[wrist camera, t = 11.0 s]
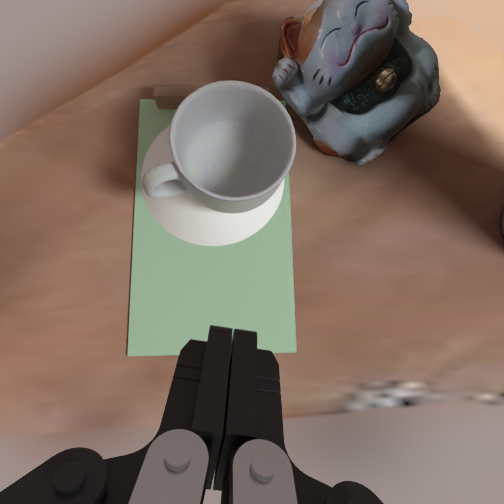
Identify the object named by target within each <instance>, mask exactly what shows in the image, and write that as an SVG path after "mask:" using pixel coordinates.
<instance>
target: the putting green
mask: <svg viewBox="0 0 504 504" xmlns="http://www.w3.org/2000/svg"><path fill="white" fill-rule="evenodd" d="M200 87H203V86H167V85H154V90H153V96H154V99H140V108H139V128H138V149H137V169H136V190H135V211H134V231H133V252H132V272H131V293H130V313H129V334H128V355H127V356H157V355H179V354H180V350H181V349H182V348H183V347H184V346H185V345H186V344H187V343H188V341H189V340H190V339H193V340H200V341H207V340H208V334H209V329H210V325H215V326H221V327H228V328H233V331H232V337H233V332H234V328H235V329H242V330H249V331H256V332H257V349H262V350H269V351H272V353H286V352H296V328H295V304H294V281H293V257H292V233H291V209H290V186H289V172H288V174H287V175H286V176H285V178H284V179H283V181H282V182H281V184H280V186H279V187H278V189H277V190H276V192H275V193H274V194H273V195H272V196H271V197H270V198H269V199H268V200H267V201H266V202H265V203H264V204H262V205H261V206H259V207H257V208H255V209H253V210H250V211H247V212H243V213H222V212H218V211H215V210H212V209H210V208H208V207H206V206H205V205H203V204H202V203H200V202H199V201H198V200H197V199H195V198H194V197H193V195H192V194H191V193H188V194H180V195H176V196H172V197H167V198H160V199H156V198H152V197H149V196H148V195H147V194H146V193H145V191H144V189H143V187H142V177H143V176H144V174H145V173H146V172H147V171H148V170H149V169H151V168H153V167H154V166H157V165H159V164H163V163H168V162H174V159H173V157H172V153H171V149H170V142H169V130H170V126H171V121H172V118H173V116H174V114H175V112H176V110H177V108H178V107H179V105H180V104H181V102H182V101H183V100H184V99H185V98H186V97H188V95H189V94H191V93H193V92H194V91H196V90H197V89H198V88H200ZM261 88H263V89H264V90H266V91H268V92H269V93H270V87H261ZM279 101H280V103H281V104H282V105H283V106H284V108H285V109H286V101H285V100H279ZM173 180H175V179H173ZM169 181H171V180H169ZM166 182H167V181H166Z"/></svg>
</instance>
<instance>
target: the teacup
mask: <svg viewBox="0 0 504 504" xmlns="http://www.w3.org/2000/svg"><path fill="white" fill-rule="evenodd" d="M169 142H170V149H171V153H172V157H173V159H174V162H168V163H163V164H159V165H157V166H154V167H153V168H151V169H149V170H148V171H147V172H146V173H145V174H144V176H143V177H142V187H143V189H144V191H145V193H146V194H147V195H148V196H149V197H152V198H156V199H160V198H167V197H172V196H176V195H180V194H188V193H191V194H192V195H193V197H194V198H195V199H197V200H198V201H199V202H200V203H202V204H203V205H205V206H206V207H208V208H210V209H212V210H215V211H218V212H222V213H243V212H247V211H250V210H253V209H255V208H257V207H259V206H261V205H262V204H264V203H265V202H266V201H267V200H268V199H269V198H270V197H271V196H272V195H273V194H274V193H275V192H276V190H277V189H278V187H279V186H280V184H281V182H282V181H283V179H284V178H285V176H286V175H287V174H288V172H289V170H290V168H291V166H292V163H293V161H294V157H295V153H296V136H295V129H294V126H293V123H292V120H291V117H290V115H289V114H288V112H287V111H286V109H285V108H284V106H283V105H282V104H281V103H280V101H279V100H278V99H276V98H275V97H274V96H273V95H272V94H271V93H269V92H268V91H266V90H264V89H263V88H261V87H259V86H256V85H253V84H250V83H247V82H242V81H234V80H227V81H217V82H213V83H210V84H206V85H204V86H203V87H200V88H198V89H197V90H196V91H194V92H193V93H191V94H189V95H188V97H186V98H185V99H184V100H183V101H182V102H181V104H180V105H179V107H178V108H177V110H176V112H175V114H174V116H173V118H172V121H171V126H170V130H169ZM173 179H175V180H173ZM169 180H171V181H169ZM166 181H167V182H166Z"/></svg>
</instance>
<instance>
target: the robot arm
mask: <svg viewBox="0 0 504 504" xmlns="http://www.w3.org/2000/svg"><path fill="white" fill-rule="evenodd" d="M502 232H503V235H504V211H503V215H502ZM232 331H233V328H228V327H221V326H215V325H210V329H209V334H208V340H207V341H200V340H193V339H190V340H189V341H188V343H187V344H186V345H185V346H184V347H183V348H182V349H181V350H180V354H179V358H178V361H177V366H176V369H175V373H174V376H173V380H172V384H171V388H170V391H169V395H168V399H167V403H166V406H165V410H164V414H163V418H162V421H161V425H160V428H159V430H158V432H157V434H156V436H155V437H154V438H153V440H152V441H151V442H150V443H149V444H148V445H146V446H145V447H144V448H142V449H140V450H138V451H136V452H134V453H132V454H128V455H124V456H119V457H114V458H109V459H104V460H103V459H102V457H101V456H100V455H99V454H98V453H97V452H95V451H93V450H91V449H88V448H71V449H68V450H64V451H62V452H60V453H58V454H56V455H55V456H53V457H51V458H50V459H49V460H47V461H45V462H44V463H43V464H41V465H40V466H38V467H37V468H35V469H34V470H32V471H31V472H29V473H28V474H26V475H25V476H23V477H22V478H20V479H19V480H17V481H16V482H15V483H13V484H12V485H10V486H9V487H7V488H6V489H4V490H3V491H1V492H0V504H203V500H204V495H205V490H206V489H211V485H212V480H213V476H214V471H215V476H214V486H213V490H220V491H222V495H221V504H383V503H382V502H381V500H380V499H379V498H378V497H377V496H376V495H375V494H374V493H373V492H372V491H371V490H369V489H368V488H366V487H365V486H363V485H361V484H359V483H356V482H352V481H344V482H340V483H338V484H336V485H335V486H334V487H333V488H332V487H330V486H328V485H326V484H324V483H322V482H319V481H318V480H315V479H313V478H311V477H309V476H308V475H306V474H304V473H303V472H302V471H300V470H299V469H298V468H297V467H296V466H295V465H294V464H293V462H292V461H291V459H290V458H289V456H288V454H287V452H286V449H285V445H284V435H283V420H282V405H281V394H280V382H279V380H280V376H279V364H278V362H277V360H276V358H275V357H274V355H273V353H272V351H269V350H262V349H257V332H256V331H249V330H242V329H235V328H234V332H233V337H232Z"/></svg>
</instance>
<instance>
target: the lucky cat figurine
mask: <svg viewBox="0 0 504 504" xmlns="http://www.w3.org/2000/svg"><path fill="white" fill-rule="evenodd" d="M411 18H412V14H411V13H410V12H409V6H408V3H407V2H406V0H316V1H315V2H314V3H313V4H312V5H311V6H310V7H309V8H308V9H307V11H306V12H305V15H304V16H303V17H302V18H294V17H290V18H287V19H286V20H285V21H284V22H283V23H282V26H281V38H280V41H279V51H278V57H277V63H276V67H275V69H274V72H273V75H272V78H273V82H274V85H275V87H276V88H277V89H278V90H279V91H280V93H281V95H282V97H283V98H284V99H285V101H286V102H287V103H288V104H290V106H291V107H292V109H293V110H294V111H295V112H296V113H297V115H298V116H299V117H300V118H301V119H302V120H303V122H304V123H305V124H306V126H307V127H308V129H309V130H310V132H311V134H312V135H313V140H314V142H315V144H316V145H317V146H318V148H319V149H320V150H321V151H322V152H324V153H326V154H328V155H331V156H335V157H340V158H343V159H346V160H349V161H352V162H354V163H355V165H356V166H361V165H364V164H366V163H368V162H370V161H372V160H373V159H375V158H377V157H378V156H379V155H380V154H381V153H382V152H383V151H384V150H385V148H386V147H387V145H388V144H389V142H390V141H391V140H392V139H393V138H394V137H395V136H396V135H397V134H398V133H399V132H401V131H402V130H403V129H405V128H406V127H407V126H409V125H410V124H412V123H413V122H414V121H416V120H417V119H418V118H420V117H421V116H423V115H424V114H426V113H427V112H429V111H430V110H431V109H432V108H433V107H434V106H435V105H436V104H437V103H438V101H439V97H440V91H441V90H440V86H439V67H438V58H437V55H436V53H435V51H434V50H433V48H432V47H431V46H430V45H429V44H428V43H427V42H426V41H425V40H423V38H420V37H418V36H416V35H415V34H414V33H412V32H411V31H410V30H409V27H408V26H409V25H410V24H411V23H412V22H411Z"/></svg>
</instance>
